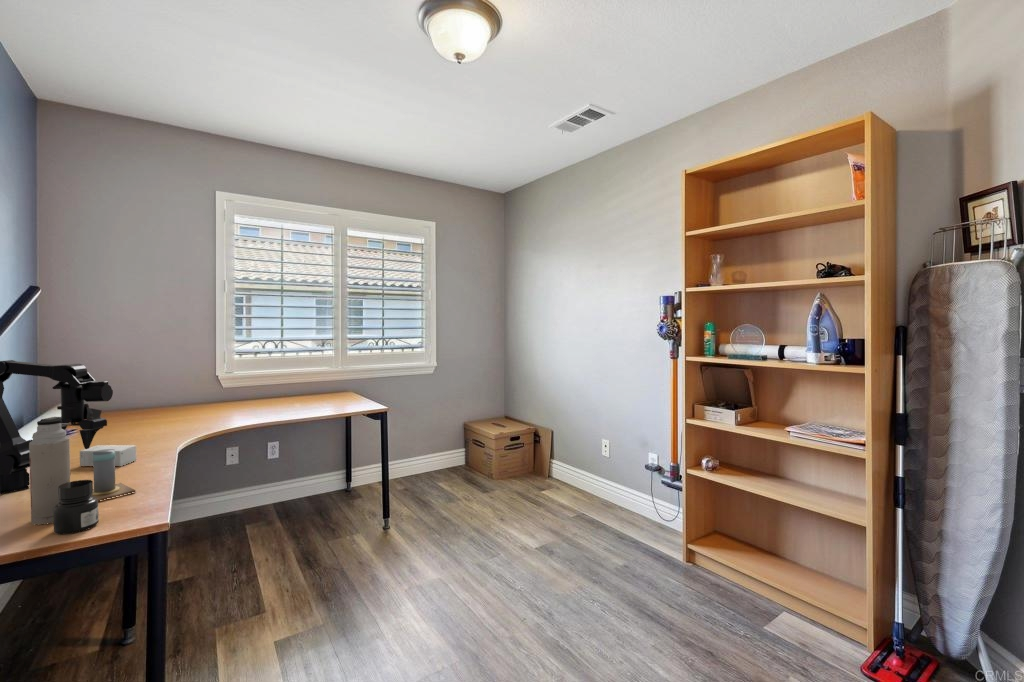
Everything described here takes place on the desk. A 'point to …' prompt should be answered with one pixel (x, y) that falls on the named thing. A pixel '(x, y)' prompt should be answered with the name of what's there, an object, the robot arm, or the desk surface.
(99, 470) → the grey cylinder
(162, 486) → the desk surface
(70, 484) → the ink bottle
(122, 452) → the skincare box
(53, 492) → the thermos bottle
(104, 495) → the plate
